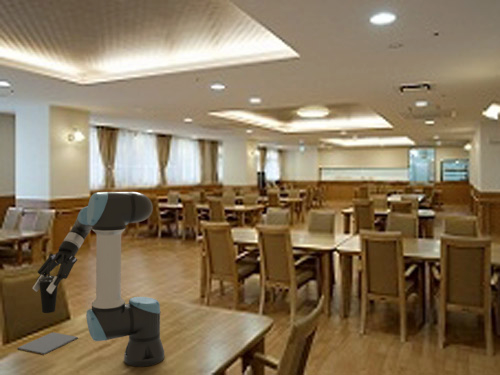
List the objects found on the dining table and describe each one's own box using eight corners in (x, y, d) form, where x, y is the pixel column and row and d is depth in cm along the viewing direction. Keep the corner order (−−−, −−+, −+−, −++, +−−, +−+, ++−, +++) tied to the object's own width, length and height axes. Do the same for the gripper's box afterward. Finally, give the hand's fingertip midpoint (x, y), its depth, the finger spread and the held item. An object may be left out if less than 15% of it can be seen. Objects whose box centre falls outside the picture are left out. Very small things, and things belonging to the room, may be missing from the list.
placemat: (77, 338, 186) (77, 336, 186) (44, 354, 169) (44, 353, 169) (52, 333, 191) (52, 332, 191) (17, 349, 174) (17, 347, 174)
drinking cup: (62, 308, 183) (62, 262, 182) (52, 314, 175) (52, 266, 174) (45, 307, 184) (45, 261, 183) (34, 313, 176) (34, 265, 175)
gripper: (93, 251, 189) (65, 298, 175) (58, 248, 196) (28, 293, 182) (84, 241, 184) (55, 288, 170) (49, 238, 191) (18, 283, 177)
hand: (41, 290), depth 176 cm, fingers closed on drinking cup, 7 cm apart
